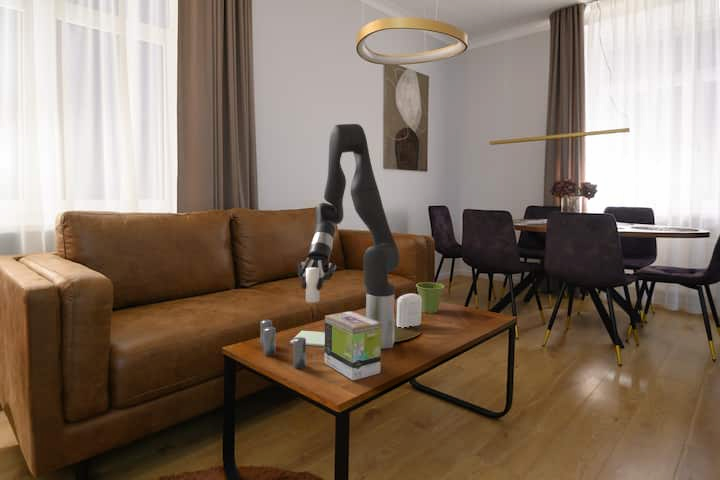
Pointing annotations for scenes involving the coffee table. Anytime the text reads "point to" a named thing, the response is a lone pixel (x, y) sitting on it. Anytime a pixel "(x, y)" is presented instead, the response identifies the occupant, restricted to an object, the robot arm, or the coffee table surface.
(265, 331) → the posts
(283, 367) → the coffee table surface
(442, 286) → the plant pot
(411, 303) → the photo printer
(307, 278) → the cylinder
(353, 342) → the tea box
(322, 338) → the mat
